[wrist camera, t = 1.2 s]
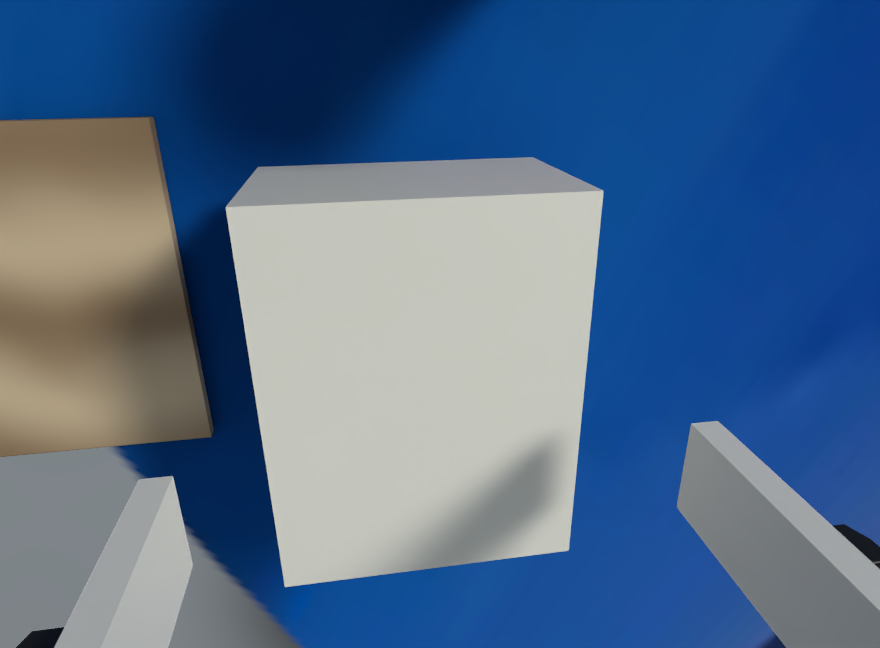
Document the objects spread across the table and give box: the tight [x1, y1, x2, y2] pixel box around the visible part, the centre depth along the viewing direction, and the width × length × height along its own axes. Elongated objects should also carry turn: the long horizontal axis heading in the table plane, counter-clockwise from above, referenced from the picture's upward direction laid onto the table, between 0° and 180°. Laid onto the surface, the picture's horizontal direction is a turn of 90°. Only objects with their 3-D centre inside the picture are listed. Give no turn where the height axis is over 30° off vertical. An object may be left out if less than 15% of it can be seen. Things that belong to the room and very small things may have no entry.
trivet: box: [0, 117, 214, 457], centre depth 24 cm, size 14×14×1 cm
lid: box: [226, 157, 603, 587], centre depth 21 cm, size 13×10×7 cm
